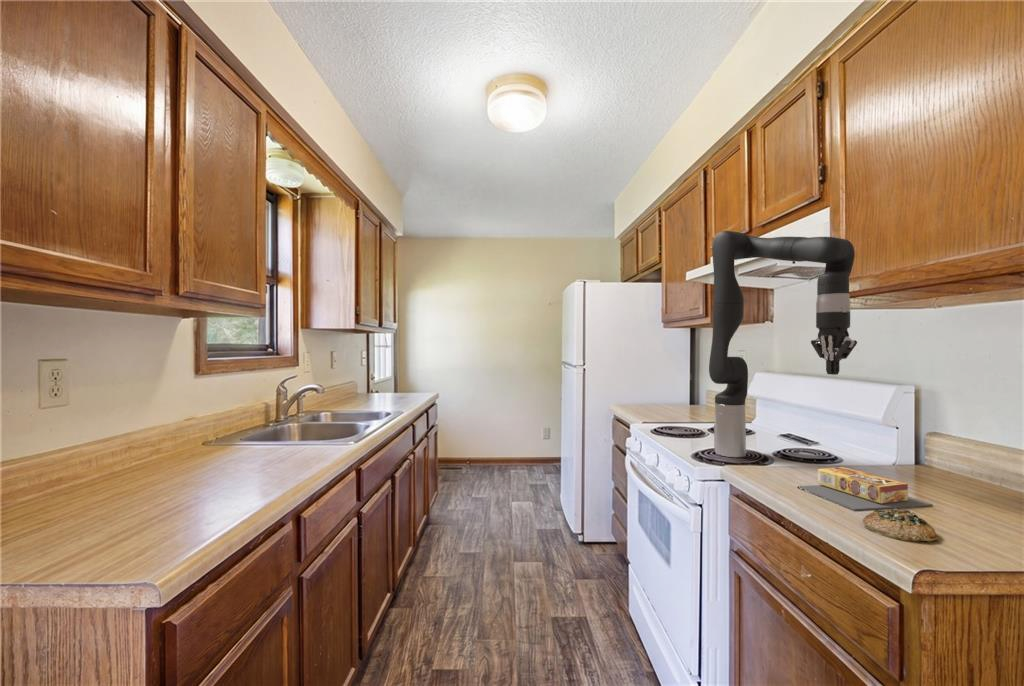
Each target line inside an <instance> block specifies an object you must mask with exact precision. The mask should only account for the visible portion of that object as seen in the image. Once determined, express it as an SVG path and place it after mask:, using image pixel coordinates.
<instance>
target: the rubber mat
mask: <svg viewBox="0 0 1024 686" xmlns="http://www.w3.org/2000/svg"><path fill="white" fill-rule="evenodd" d="M798 487H800V488H802V489H805V490H807V491H809V492H811V493H814V494H816V495H818V496H817V497H819V496H820V497H819V498H821V497H823V498H822V499H824V498H825V499H824V500H826V499H827V501H828V500H829V502H831V501H832V502H831V503H833V502H834V504H836V505H838V504H839V505H838V506H841V507H843V508H847V509H848V510H851V511H853V512H856V511H859V512H860V511H872V510H873V511H875V510H891V509H892V510H893V509H905V508H909V509H910V508H923V507H922V506H926V507H933V503H930V502H927V501H924V500H920V499H917V498H914V497H911V496H909V495H908V500H907V501H899V502H891V503H884V504H879V503H877V502H873V501H870V500H867V499H864V498H861V497H858V496H854V495H851V494H848V493H845V492H842V491H839V490H836V489H832V488H829V487H826V486H823V485H820V484H816V485H800V486H797V488H798ZM809 492H808V493H809ZM811 493H810V494H811ZM814 494H813V495H814ZM816 495H815V496H816Z"/></svg>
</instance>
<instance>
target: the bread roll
mask: <svg viewBox="0 0 1024 686" xmlns="http://www.w3.org/2000/svg"><path fill="white" fill-rule="evenodd" d="M862 522H863V524H864V527H865V529H867V530H869V531H871V532H873V533H874V534H876V535H880V536H883V537H888V538H892V539H896V540H900V539H901V541H905V540H909V541H908V542H920V541H921V542H924V541H928V542H927V543H931V541H932V542H934V540H935V541H936V540H939V538H938V535H937V533H936V531H935V530H936V529H934V528H933V526H932V525H931V524H929V523H928V521H926V520H925V519H923V518H921V517H918V514H916V513H915V512H910V510H909V509H905V510H899V508H893V509H877V510H873V511H872V512H870V513H868V514H867V515H865V516H864V518H863V520H862Z"/></svg>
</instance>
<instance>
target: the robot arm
mask: <svg viewBox="0 0 1024 686" xmlns="http://www.w3.org/2000/svg"><path fill="white" fill-rule="evenodd" d="M855 252H856V251H855V246H854V245H853V243H852V242H851V241H850V240H848V239H845V238H841V237H840V238H839V237H834V236H813V237H810V236H809V237H807V236H806V237H805V236H777V237H760V236H754V235H749V234H746V233H744V232H741V231H733V230H723V231H720V232H719V233H717V234H716V235H715V237H714V239H713V242H712V247H711V253H712V265H713V266H712V267H713V301H712V303H713V305H712V306H713V307H712V337H711V338H712V339H711V347H710V356H709V363H708V374H709V377H710V380H711V381H712V382H713V383H714V384H716V385H726V388H724V390H723V391H720V392H719V393H717V394H715V396H714V408H715V409H714V419H715V421H714V422H715V424H714V425H713V429H714V430H713V434H714V435H713V437H714V439H713V440H714V445H713V447H714V452H715V454H716V455H719V456H723V457H728V458H745V457H746V456H747V441H746V439H747V433H746V431H747V429H746V425H747V424H746V399H747V396H748V387H749V385H748V382H749V369H748V364H747V362H746V360H745V359H744V358H742V357H741V356H728V354H729V353H728V352H729V346H730V342H731V340H732V339H733V336H734V335H735V334H736V332H737V330H738V329H739V327H740V325H741V323H742V321H743V319H744V303H745V302H744V301H745V299H744V298H745V297H744V294H743V292H742V289H741V286H740V284H739V282H738V279H737V276H736V273H735V261H737V260H744V259H753V258H759V259H760V258H761V259H762V258H763V259H764V258H765V259H766V258H767V259H771V260H777V261H785V262H786V261H787V262H799V263H800V262H808V263H809V262H812V263H820V264H825V269H824V273H822V274H820V275H819V276H818V277H817V282H816V283H817V284H816V285H817V287H816V288H817V292H816V295H817V297H816V302H815V324H816V325H815V327H816V328H817V330H818V332H817V338H815V339H813V340H812V339H811V340H810V344H811V345H812V347H813V348H814V350H815V352H816V354H817V355H818V357H819V358H820V359H824V360H825V373H826V374H827V375H832V376H835V375H836V376H837V375H839V373H840V361H842V360H846V359H848V357H849V355H850V354H851V353H852V351H853V350H854V348H855V347H856V345H857V344H858V342H857V340H855V339H851V337H849V336H850V334H849V331H848V329H849V328H851V299H850V277H851V276H850V275H851V272H852V270H853V266H854V262H855V255H856V253H855Z"/></svg>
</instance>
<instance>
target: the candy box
mask: <svg viewBox="0 0 1024 686" xmlns="http://www.w3.org/2000/svg"><path fill="white" fill-rule="evenodd" d="M817 485H823V486H826V487H829V488H832V489H836V490H839V491H842V492H845V493H848V494H851V495H854V496H858V497H861V498H864V499H867V500H870V501H873V502H877V503H879V504H884V503H891V502H899V501H907V500H908V496H909V487H908V486H909V484H908V483H905V482H902V481H899V480H895V479H891V478H887V477H883V476H879V475H875V474H871V473H867V472H865V471H859V470H856V469H852V468H847V467H843V466H840V467H828V468H827V467H826V468H818V469H817Z"/></svg>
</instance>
